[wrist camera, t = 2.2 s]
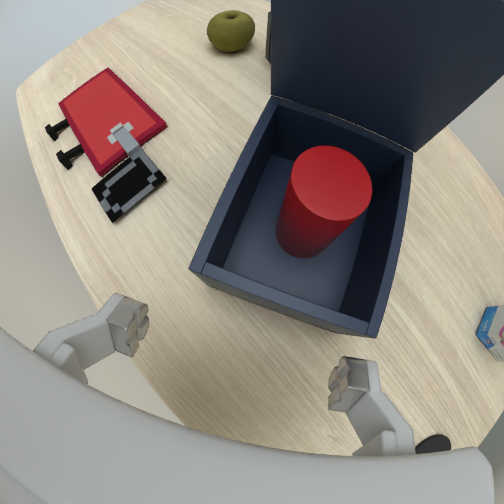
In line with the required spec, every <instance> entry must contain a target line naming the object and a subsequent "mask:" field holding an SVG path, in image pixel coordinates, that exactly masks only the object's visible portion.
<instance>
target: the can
mask: <svg viewBox="0 0 504 504" xmlns="http://www.w3.org/2000/svg"><path fill="white" fill-rule="evenodd" d="M371 196H372V183H371V179H370V176H369V174H368V172H367V170H366V168H365V167H364V165H363V164H362V163H361V162H360V161H359V160H358V159H357V158H356V157H355V156H354V155H352V154H351V153H349V152H347V151H345V150H343V149H341V148H338V147H334V146H316V147H313V148H310V149H308V150H306V151H305V152H303V153H302V154H301V155H300V156H299V157H298V158H297V159H296V161H295V163H294V165H293V167H292V171H291V174H290V178H289V182H288V185H287V189H286V192H285V196H284V199H283V203H282V206H281V210H280V213H279V217H278V220H277V224H276V237H277V240H278V242H279V244H280V246H281V247H282V248H283V250H284V251H286V252H287V253H288V254H290V255H292V256H294V257H297V258H302V259H307V258H312V257H315V256H317V255H318V254H320V253H321V252H322V251H323V250H324V249H326V248H327V247H328V246H329V245H330V244H331V243H332V242H333V241H334V240H335V239H336V238H337V237H338V236H339V235H340V234H341V233H342V232H343V231H344V230H345V229H346V228H347V227H348V226H349V225H350V224H351V223H353V222H354V221H355V220H356V219H357V218H358V217H359V216H360V215H361V214H362V213H363V212H364V211H365V209H366V208H367V206H368V205H369V203H370V200H371Z"/></svg>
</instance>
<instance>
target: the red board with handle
mask: <svg viewBox="0 0 504 504" xmlns="http://www.w3.org/2000/svg"><path fill="white" fill-rule="evenodd" d="M58 104H59V106H60V108H61V110H62V112H63V114H64V116H65V117H66V119H65V120H63V121H61V122H60V123H58V124H56V125H54V126H53V127H51V126H50V124H48V125H47V126H46V127H45V129H46V132H47V133H48V135H49V136H50V137H51V138H52V139H53V140H54V141H56V140H57V139H58V138H59V137H58V135H57V133H56V132H58V131H60V130H61V129H63V128H65V127H67V126H68V125H70V127H71V128H72V130H73V132H74V134H75V136H76V137H77V139H78V141H79V143H80V144H79V145H78V146H76V147H74V148H72V149H71V150H69V151H67V152H66V153H63V152H62V151H61V150H60V151H59V152H58V153H57V154H56V155H57V157H58V160H59V161H60V162H61V163H62V165H63V166H64V167H65V168H66V169H67V170H69V169H70V168H71V167H72V166H73V165H72V164H71V162H70V159H72V158H73V157H75V156H77V155H79V154H80V153H82V152H84V151H85V153H86V155H87V156H88V158H89V160H90V161H91V163H92V165H93V166H94V168H95V170H96V171H97V173H98V174H99V175H100V176H103V175H104V174H105V173H106V172H107V171H109V170H110V169H111V168H112V167H113V166H115V165H116V164H117V163H118V162H120V161H121V160H122V159H123V158H125V157H126V156H127V155H128V156H129V158H128V159H127V160H125V161H124V162H123V163H122V164H120V165H119V166H118V167H117V168H115V169H114V170H113V171H112V172H110V173H109V174H108V175H107V176H106V177H104V178H103V179H102V180H101V181H100V182H99V183H97V184H96V185H95V186H94V187H93V188H92V191H93V192H94V194H95V196H96V197H97V199H98V201H99V202H100V204H101V206H102V207H103V209H104V211H105V212H106V214H107V215H108V217H109V219H110V220H111V222H112V223H113V222H114V221H116V220H117V219H118V218H119V217H120V216H121V215H122V214H124V213H125V212H126V211H127V210H128V209H130V208H131V207H132V206H133V205H134V204H136V203H137V202H138V201H139V200H140V199H142V198H143V197H144V196H145V195H147V194H148V193H149V192H150V191H152V190H153V189H154V188H155V187H157V186H158V185H159V184H161V183H162V182H163V181H164V180H166V179H167V178H166V177H165V176H164V175H163V173H162V172H161V171H160V170H159V169H158V168H157V166H156V165H155V164H154V163H153V162H152V160H151V159H150V158H149V157H148V156H147V154H146V153H145V152H144V151H143V150H142V149H141V147H140V146H141V145H142V144H143V143H145V142H146V141H147V140H149V139H150V138H152V137H153V136H155V135H156V134H157V133H159V132H160V131H162V130H163V129H165V128H166V127H167V125H166V122H165V121H164V120H163V119H162V118H161V117H160V116H159V115H158V114H157V113H156V112H155V111H153V110H152V109H151V108H150V107H149V106H148V105H147V104H146V103H145V102H144V101H143V100H142V99H141V98H140V97H139V96H138V95H137V94H136V93H135V92H134V91H133V90H132V89H131V88H130V87H129V86H127V85H126V84H125V83H124V82H123V81H122V80H121V79H120V78H119V77H118V76H117V75H116V74H115V73H114V72H113V71H112V70H110V69H109V68H106V69H105V70H103V71H102V72H100V73H99V74H97V75H96V76H94V77H93V78H91V79H90V80H88V81H87V82H86V83H84V84H83V85H81V86H80V87H79V88H77V89H76V90H75V91H73V92H72V93H71V94H70V95H68V96H67V97H66V98H64V99H63V100H62V101H61V102H59V103H58Z"/></svg>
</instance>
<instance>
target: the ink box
mask: <svg viewBox="0 0 504 504" xmlns="http://www.w3.org/2000/svg"><path fill="white" fill-rule="evenodd" d="M476 335H477V337H478V338H479V339H480V340H481V341H482V343H483V344H484V345H485V346H486V347H487V349H488V350H489V351H490V352H491V353H492V355H493V356H494V357H495V358H496V360H497V361H502V362H504V305H503V306H494V307H487V308H486V311H485V313H484V316H483V318H482V321H481V323H480V326H479V328H478V330H477V333H476Z"/></svg>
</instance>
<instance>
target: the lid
mask: <svg viewBox="0 0 504 504" xmlns="http://www.w3.org/2000/svg"><path fill="white" fill-rule="evenodd" d="M503 75H504V0H271V95H274V96H277V97H281V98H284V99H287V100H291V101H294V102H297V103H300V104H303V105H306V106H309V107H312V108H315V109H317V110H320V111H323V112H326V113H328V114H331V115H334V116H336V117H339V118H341V119H344V120H346V121H349V122H351V123H354V124H356V125H358V126H361V127H363V128H365V129H368V130H370V131H372V132H374V133H377V134H379V135H381V136H383V137H385V138H387V139H389V140H391V141H393V142H395V143H397V144H399V145H401V146H403V147H405V148H407V149H409V150H411V151H413V152H417V151H418V150H419V149H420V148H421V147H423V146H424V145H425V144H426V143H427V142H428V141H430V140H431V139H432V138H433V137H434V136H435V135H437V134H438V133H439V132H440V131H441V130H442V129H444V128H445V127H446V126H447V125H448V124H449V123H450V122H451V121H453V120H454V119H455V118H456V117H457V116H458V115H460V114H461V113H462V112H463V111H464V110H465V109H466V108H467V107H469V106H470V105H471V104H472V103H473V102H474V101H475V100H476V99H478V97H480V96H481V95H482V94H483V93H484V92H485V91H486V90H488V89H489V88H490V87H491V86H492V85H493V84H494V83H495V82H496V81H497V80H498V79H499V78H501V77H502V76H503Z"/></svg>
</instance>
